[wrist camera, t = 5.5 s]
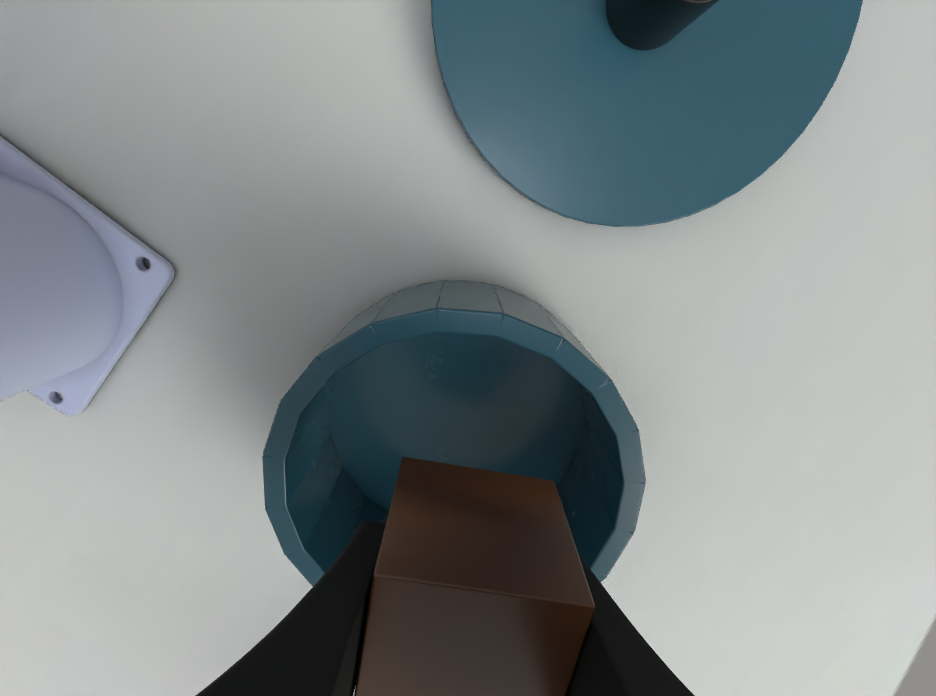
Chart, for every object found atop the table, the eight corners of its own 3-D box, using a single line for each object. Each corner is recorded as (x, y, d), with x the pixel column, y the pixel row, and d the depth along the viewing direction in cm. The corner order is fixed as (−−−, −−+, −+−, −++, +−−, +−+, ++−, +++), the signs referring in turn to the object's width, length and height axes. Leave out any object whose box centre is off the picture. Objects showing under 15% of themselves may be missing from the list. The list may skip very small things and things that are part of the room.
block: (381, 580, 13) (347, 736, 9) (402, 455, 12) (373, 574, 8) (521, 600, 13) (544, 760, 9) (554, 479, 12) (596, 606, 8)
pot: (261, 433, 20) (189, 513, 15) (438, 214, 17) (427, 218, 12) (471, 579, 22) (472, 693, 17) (654, 405, 19) (723, 477, 14)
